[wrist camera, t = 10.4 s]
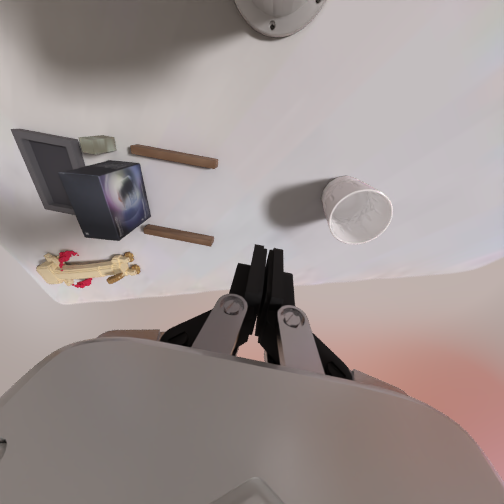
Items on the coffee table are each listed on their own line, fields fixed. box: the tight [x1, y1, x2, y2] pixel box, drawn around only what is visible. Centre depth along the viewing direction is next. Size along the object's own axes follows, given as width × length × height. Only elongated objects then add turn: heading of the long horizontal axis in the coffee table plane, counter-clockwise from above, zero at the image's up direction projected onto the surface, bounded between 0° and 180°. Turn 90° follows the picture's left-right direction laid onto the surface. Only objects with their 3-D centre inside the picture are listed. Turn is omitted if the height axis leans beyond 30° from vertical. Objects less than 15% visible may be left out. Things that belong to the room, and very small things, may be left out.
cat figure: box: [36, 251, 140, 288], centre depth 48 cm, size 10×9×25 cm
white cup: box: [321, 176, 393, 244], centre depth 32 cm, size 8×8×10 cm
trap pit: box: [11, 129, 85, 215], centre depth 39 cm, size 14×10×2 cm
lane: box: [79, 135, 218, 246], centre depth 38 cm, size 17×20×5 cm
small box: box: [58, 160, 151, 241], centre depth 36 cm, size 11×6×10 cm, turn 176°
